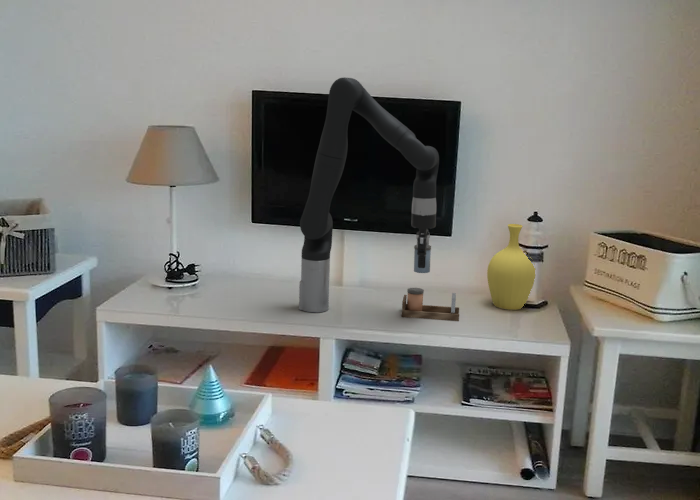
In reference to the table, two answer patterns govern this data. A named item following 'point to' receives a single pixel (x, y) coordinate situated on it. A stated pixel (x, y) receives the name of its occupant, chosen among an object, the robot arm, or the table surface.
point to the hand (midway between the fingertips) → (422, 265)
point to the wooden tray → (430, 312)
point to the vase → (510, 274)
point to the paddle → (453, 303)
